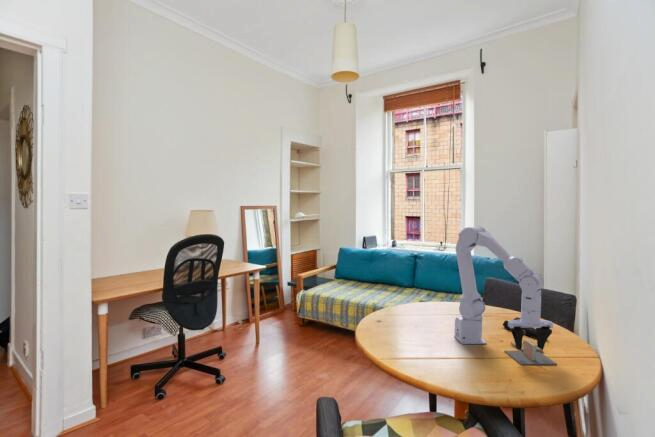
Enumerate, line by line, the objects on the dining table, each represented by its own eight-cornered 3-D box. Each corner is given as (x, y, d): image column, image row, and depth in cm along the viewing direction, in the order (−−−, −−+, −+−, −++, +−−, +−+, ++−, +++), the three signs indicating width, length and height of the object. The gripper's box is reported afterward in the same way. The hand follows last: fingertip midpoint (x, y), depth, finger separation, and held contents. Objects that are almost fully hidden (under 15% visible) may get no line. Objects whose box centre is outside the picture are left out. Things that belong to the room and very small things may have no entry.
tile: (532, 360, 112) (532, 345, 112) (523, 353, 117) (523, 339, 117) (535, 360, 112) (536, 345, 112) (526, 353, 117) (527, 339, 117)
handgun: (556, 337, 136) (540, 342, 130) (514, 323, 150) (498, 327, 144) (556, 328, 135) (540, 333, 129) (515, 315, 150) (498, 319, 144)
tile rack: (521, 352, 119) (522, 349, 119) (510, 344, 126) (510, 341, 126) (543, 352, 120) (543, 349, 120) (530, 343, 127) (530, 341, 127)
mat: (521, 365, 110) (521, 363, 110) (504, 351, 120) (504, 350, 120) (556, 364, 110) (556, 363, 110) (537, 351, 120) (537, 350, 120)
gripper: (516, 312, 110) (515, 353, 111) (560, 312, 110) (558, 353, 111) (504, 306, 117) (503, 344, 118) (545, 306, 118) (544, 344, 118)
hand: (529, 348), depth 115 cm, fingers open, 7 cm apart
